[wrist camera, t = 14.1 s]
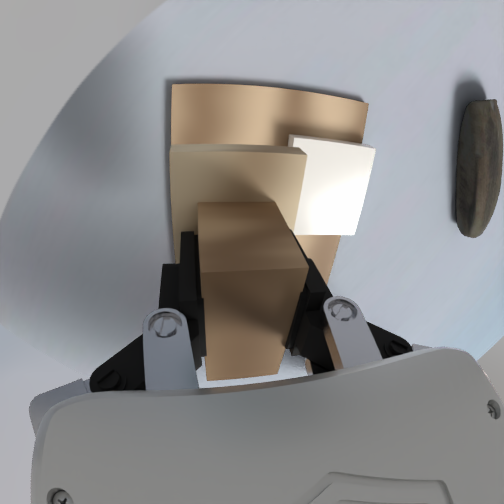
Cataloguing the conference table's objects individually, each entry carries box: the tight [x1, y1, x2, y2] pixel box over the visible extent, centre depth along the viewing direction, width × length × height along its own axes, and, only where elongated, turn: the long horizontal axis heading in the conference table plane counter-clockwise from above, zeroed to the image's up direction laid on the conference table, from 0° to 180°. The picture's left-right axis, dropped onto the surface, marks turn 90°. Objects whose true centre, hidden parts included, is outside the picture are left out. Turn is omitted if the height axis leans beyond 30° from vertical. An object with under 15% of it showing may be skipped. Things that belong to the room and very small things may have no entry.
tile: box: [288, 134, 376, 235], centre depth 22 cm, size 7×1×8 cm
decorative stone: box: [456, 99, 503, 238], centre depth 23 cm, size 17×6×4 cm, turn 12°
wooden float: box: [169, 144, 309, 381], centre depth 12 cm, size 5×10×5 cm, turn 175°
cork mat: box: [171, 84, 369, 285], centre depth 24 cm, size 15×20×1 cm
